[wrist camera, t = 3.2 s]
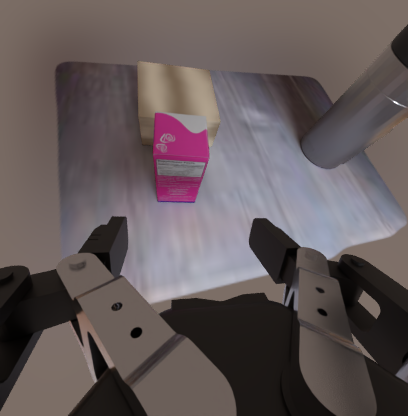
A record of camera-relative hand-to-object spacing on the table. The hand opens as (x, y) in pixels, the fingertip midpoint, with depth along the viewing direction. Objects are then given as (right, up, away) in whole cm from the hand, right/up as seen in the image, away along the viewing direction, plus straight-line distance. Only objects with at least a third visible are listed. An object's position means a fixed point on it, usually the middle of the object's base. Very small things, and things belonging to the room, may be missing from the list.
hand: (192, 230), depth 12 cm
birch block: (-5, +18, +23) cm, 30 cm away
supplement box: (-4, +5, +18) cm, 19 cm away
